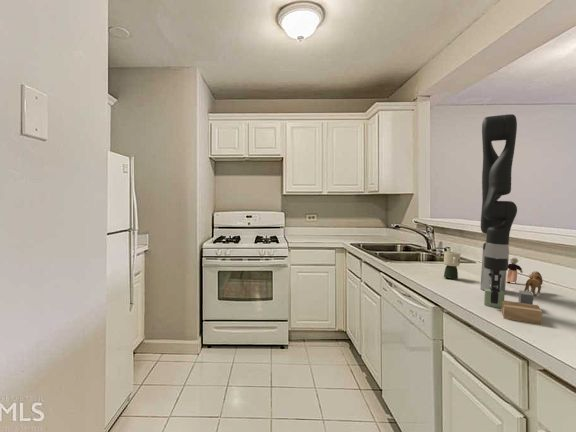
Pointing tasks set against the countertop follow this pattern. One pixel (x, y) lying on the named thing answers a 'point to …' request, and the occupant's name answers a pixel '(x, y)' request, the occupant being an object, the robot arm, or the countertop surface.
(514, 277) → the grandmother figurine
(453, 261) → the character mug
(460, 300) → the countertop surface
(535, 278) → the lion figurine
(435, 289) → the countertop surface
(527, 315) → the oak block
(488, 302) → the sage brick
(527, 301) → the charcoal brick
